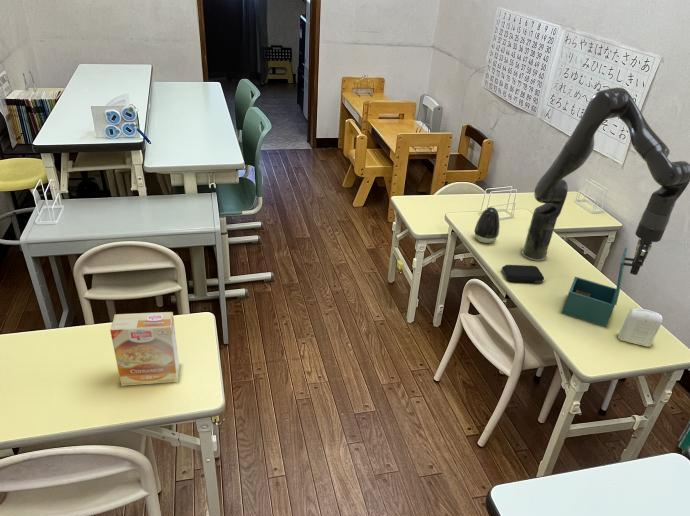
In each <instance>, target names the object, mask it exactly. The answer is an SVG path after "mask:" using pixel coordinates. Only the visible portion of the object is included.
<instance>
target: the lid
mask: <svg viewBox="0 0 690 516" xmlns="http://www.w3.org/2000/svg"><path fill="white" fill-rule="evenodd" d="M627 251H628V247H624V248H623V252H622V257H621V260H620V265H619V270H618V277H617V283H616V294H615V300H614V305H615V306H617V304H618V300H619V295H620V292H621V288H622V287H621V286H622V280H623V275H624V269H625V267H632V266H633V264H632V262H633V261H634V260H635V259H634V258H633V257H627ZM626 261H628V262H626ZM637 261H641V260H637Z"/></svg>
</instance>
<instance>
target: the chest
mask: <svg viewBox="0 0 690 516" xmlns="http://www.w3.org/2000/svg"><path fill="white" fill-rule="evenodd" d="M616 288H617V287H616ZM616 288H615V287H612V286H609V285H605V284H602V283H598V282H595V281H592V280H588V279H585V278H582V277H579V276H574V278H573V280H572V283H571V286H570V289H569V290H568V294H567V297H566V300H565V303H564V306H563V308H562V312H561V313H562V314H564V315H566V316H570V317H573V318H576V319H579V320H582V321H584V322H585V321H586V322H589V323H591V324H593V325H594V324H595V325H598V326H601V327H603V328H607V326H608V323H609V321H610V320H611V319H610V318H611V316H612V314H613V311H614V308H615V306H616V305H614V300H615V294H616ZM576 290H579V291H583V292H586V293H589V294H591V295H590V297H588V296H584V295H581V294H578V293H575V292H576Z"/></svg>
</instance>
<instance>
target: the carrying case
mask: <svg viewBox="0 0 690 516" xmlns="http://www.w3.org/2000/svg"><path fill="white" fill-rule="evenodd" d="M501 271H502V272H503V275H504V277H505V278H506V280H507V281H509V282H516V283H534V284H538V283H541V282H544V280H545V277H544V274H543V273H542V272H541V270H540V268H539V267H538V266H536V265H528V264H527V265H525V264H505V265H503V266H502V267H501Z"/></svg>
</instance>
